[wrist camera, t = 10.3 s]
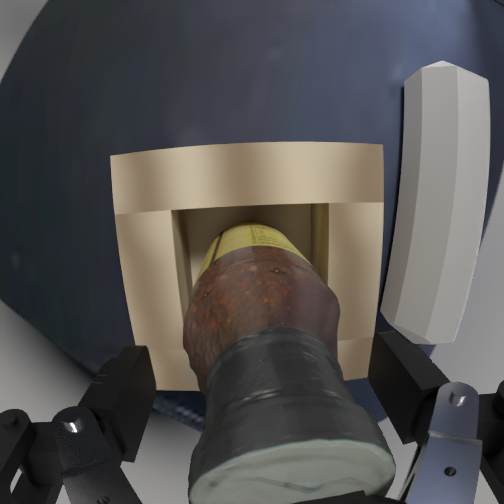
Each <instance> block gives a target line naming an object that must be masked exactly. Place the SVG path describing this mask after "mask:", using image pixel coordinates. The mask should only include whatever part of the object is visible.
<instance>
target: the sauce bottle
mask: <svg viewBox="0 0 504 504" xmlns="http://www.w3.org/2000/svg"><path fill="white" fill-rule="evenodd" d="M340 312H341V311H340V305H339V302H338V298H337V296H336V295H335V293H334V292H333V291H332V290H331V289H330V288H329V287H328V286H327V285H326V284H325V282H324V281H323V279H322V278H321V276H320V275H319V273H318V271H317V270H316V269H315V268H314V267H313V266H312V265H311V264H310V263H309V261H308V260H307V259H306V258H305V257H304V256H303V255H302V254H301V253H300V252H299V251H298V250H297V249H296V248H295V246H294V245H293V244H292V243H291V242H290V241H289V240H288V239H287V238H286V237H285V235H284V234H283V233H281V232H280V231H279V230H278V229H276V228H275V227H273V226H271V225H268V224H265V223H261V222H256V221H248V222H241V223H238V224H235V225H232V226H230V227H228V228H226V229H225V230H223V231H222V232H221V233H220V234H219V235H218V236H217V237H216V238H215V239H214V241H213V242H212V244H211V246H210V248H209V250H208V252H207V254H206V256H205V259H204V261H203V264H202V267H201V269H200V272H199V274H198V277H197V279H196V282H195V284H194V287H193V290H192V292H191V295H190V299H189V305H188V310H187V313H186V316H185V320H184V326H183V348H184V350H185V351H186V353H187V354H188V358H189V362H190V368H191V369H192V370H193V371H194V373H195V375H196V376H197V382H198V387H199V390H200V391H201V392H203V393H204V394H205V401H206V411H205V428H204V432H203V433H202V434H201V437H200V440H199V443H198V444H197V445H196V446H195V448H194V450H193V453H192V457H191V463H190V472H189V476H188V481H189V488H188V498H189V504H294V503H297V502H300V501H308V500H314V499H320V498H325V497H331V496H338V495H343V494H346V493H350V492H355V491H360V490H364V492H365V495H366V496H380V497H385V495H386V494H387V492H388V490H389V489H390V487H391V485H392V483H393V480H394V477H395V471H396V464H395V462H394V458H393V455H392V453H391V451H390V449H389V447H388V445H387V442H386V439H385V438H384V436H383V433H382V431H381V429H380V427H379V426H378V424H377V422H376V421H375V419H374V418H373V416H372V415H371V414H369V413H368V412H367V411H366V410H365V409H364V408H363V407H361V406H359V405H357V404H356V402H355V400H354V398H353V396H352V394H351V392H350V389H349V388H348V386H347V384H346V382H345V381H344V378H343V371H342V369H341V366H340V364H339V362H338V340H337V332H338V324H339V319H340Z"/></svg>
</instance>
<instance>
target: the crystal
mask: <svg viewBox="0 0 504 504" xmlns="http://www.w3.org/2000/svg"><path fill="white" fill-rule="evenodd" d="M489 160H490V99H489V83H488V80H487V79H485V78H483V77H481V76H479V75H477V74H474V73H472V72H470V71H468V70H465V69H463V68H461V67H458V66H456V65H453V64H451V63H448V62H445V61H440V62H437V63H434V64H431V65H428V66H426V67H423V68H421V69H419V70H418V71H417V72H416V73H414V74H413V75H412V76H410V77H409V78H408V79H406V80H405V81H404V133H403V152H402V166H401V179H400V189H399V199H398V207H397V216H396V223H395V231H394V238H393V244H392V250H391V257H390V262H389V268H388V274H387V279H386V284H385V289H384V294H383V299H382V304H381V308H380V311H381V313H382V314H383V316H384V317H385V319H386V321H387V322H388V323H389V324H390V325H391V326H393V327H394V328H395V329H396V330H397V331H399V332H400V333H401V334H402V335H404V336H405V337H406V338H407V339H408V340H410V341H411V342H412V343H413V344H452V343H454V340H455V338H456V336H457V333H458V330H459V327H460V324H461V320H462V317H463V314H464V310H465V306H466V303H467V299H468V296H469V292H470V288H471V284H472V280H473V275H474V271H475V266H476V261H477V257H478V251H479V246H480V241H481V235H482V228H483V222H484V215H485V207H486V198H487V188H488V176H489Z"/></svg>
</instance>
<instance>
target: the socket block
mask: <svg viewBox="0 0 504 504" xmlns="http://www.w3.org/2000/svg"><path fill="white" fill-rule="evenodd" d="M111 175H112V189H113V201H114V212H115V222H116V231H117V239H118V247H119V254H120V262H121V268H122V275H123V281H124V287H125V293H126V299H127V304H128V309H129V314H130V320H131V324H132V329H133V334H134V339H135V343H136V345H145V346H147V347H148V350H149V353H150V358H151V362H152V367H153V371H154V375H155V380H156V390H177V391H200V390H199V387H198V382H197V376H196V375H195V373H194V371H193V370H192V369H191V368H190V362H189V358H188V354H187V353H186V351H185V350H184V348H183V326H184V320H185V316H186V313H187V310H188V305H189V299H190V295H191V292H192V290H193V287H194V284H195V282H196V279H197V277H198V274H199V272H200V269H201V267H202V264H203V261H204V259H205V256H206V254H207V252H208V250H209V248H210V246H211V244H212V242H213V241H214V239H215V238H216V237H217V236H218V235H219V234H220V233H221V232H222V231H223V230H225V229H226V228H228V227H230V226H232V225H235V224H238V223H241V222H248V221H256V222H261V223H265V224H268V225H271V226H273V227H275V228H276V229H278V230H279V231H280V232H281V233H283V234H284V235H285V237H286V238H287V239H288V240H289V241H290V242H291V243H292V244H293V245H294V246H295V248H296V249H297V250H298V251H299V252H300V253H301V254H302V255H303V256H304V257H305V258H306V259H307V260H308V261H309V263H310V264H311V265H312V266H313V267H314V268H315V269H316V270H317V271H318V273H319V275H320V276H321V278H322V279H323V281H324V282H325V284H326V285H327V286H328V287H329V288H330V289H331V290H332V291H333V292H334V293H335V295H336V296H337V298H338V302H339V305H340V311H341V312H340V319H339V324H338V332H337V340H338V362H339V364H340V366H341V369H342V371H343V378H344V381H346V380H353V379H360V378H366V377H367V376H368V368H369V362H370V356H371V349H372V342H373V337H374V330H375V322H376V314H377V305H378V295H379V284H380V272H381V258H382V240H383V210H384V166H383V145H381V144H364V143H339V142H261V143H236V144H218V145H204V146H191V147H180V148H170V149H160V150H151V151H143V152H135V153H128V154H121V155H114V156H111Z"/></svg>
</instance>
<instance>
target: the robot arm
mask: <svg viewBox="0 0 504 504" xmlns="http://www.w3.org/2000/svg"><path fill="white" fill-rule="evenodd" d="M496 1H498V2H499V3H501V4H503V5H504V0H496ZM368 377H369V382H370V384H371V386H372V388H373V390H374V392H375V394H376V395H377V397H378V399H379V401H380V403H381V404H382V406H383V408H384V410H385V412H386V413H387V415H388V417H389V419H390V421H391V423H392V424H393V426H394V428H395V430H396V432H397V434H398V435H399V437H400V439H401V441H402V443H403V445H404V444H407V443H411V442H415V441H416V443H417V444H418V446H417V449H416V451H415V454H414V456H413V459H412V462H411V465H410V468H409V471H408V473H407V476H406V478H405V481H404V483H403V486H402V488H401V491H400V493H399V495H398V497H397V499H396V500H395V499H391V498H387V497H380V496H366V495H365V492H364V490H360V491H355V492H350V493H346V494H343V495H338V496H331V497H325V498H320V499H314V500H308V501H300V502H297V503H294V504H473V503H474V498H475V493H476V487H477V482H478V476H479V469H480V470H481V472H482V474H483V476H484V477H485V479H486V481H487V483H488V485H489V486H490V488H491V490H492V492H493V493H494V495H495V497H496V499H497V501H498V503H499V504H504V380H503V381H502V382H501V383H500V385H499V387H498V389H497V392H496V393H492V394H480V395H478V393H477V391H476V390H475V389H474V388H473V387H471V386H469V385H468V384H465V383H461V382H450V381H449V379H448V378H447V377H446V376H445V375H444V374H443V373H442V371H441V370H440V369H439V368H438V367H437V366H436V365H435V364H434V363H432V360H431V359H430V358H429V357H427V355H426V354H425V353H424V351H423V350H422V349H421V348H420V347H418V346H416V345H415V344H413V343H411V342H409V341H407V342H406V341H405V340H404V339H403V338H402V337H401V336H400V335H399V334H398V332H397V331H395V330H393V331H387V332H379V333H375V335H374V337H373V342H372V349H371V356H370V362H369V368H368ZM155 397H156V380H155V375H154V371H153V367H152V362H151V358H150V353H149V350H148V347H147V346H145V345H126V346H125V347H124V348H123V350H122V351H121V353H120V355H119V356H118V358H112V359H110V360H109V361H108V362H106V363H105V364H104V365H103V366H102V367H101V369H100V370H99V372H98V373H97V376H96V377H95V378H94V380H93V383H91V385H90V386H89V388H88V389H87V391H86V393H85V394H84V396H83V397H82V399H81V401H80V402H79V404H78V406H73V407H68V408H65V409H63V410H61V411H59V412H58V413H57V414H56V415H55V416H54V417H53V419H52V422H35V423H32V422H31V420H30V419H29V417H28V415H27V413H26V412H24V411H23V410H19V409H10V410H6V411H4V412H2V413H0V504H55V503H56V501H57V498H58V495H59V493H60V490H61V487H62V485H64V486H65V489H66V492H67V495H68V497H69V500H70V502H71V504H142V502H141V501H140V499H139V497H138V496H137V494H136V493H135V491H134V489H133V488H132V486H131V484H130V483H129V481H128V479H127V478H126V476H125V474H124V472H123V471H122V469H121V467H120V465H121V462H122V461H126V462H134V461H135V458H136V455H137V452H138V449H139V446H140V442H141V439H142V436H143V433H144V430H145V427H146V424H147V421H148V418H149V415H150V412H151V409H152V406H153V403H154V400H155ZM18 468H19V469H20V470H21V472H22V474H21V475H20V477H19V479H18V482H17V484H16V486H15V488H14V490H13V492H12V494H11V491H10V485H11V482H12V480H13V478H14V476H15V474H16V472H17V470H18Z"/></svg>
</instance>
